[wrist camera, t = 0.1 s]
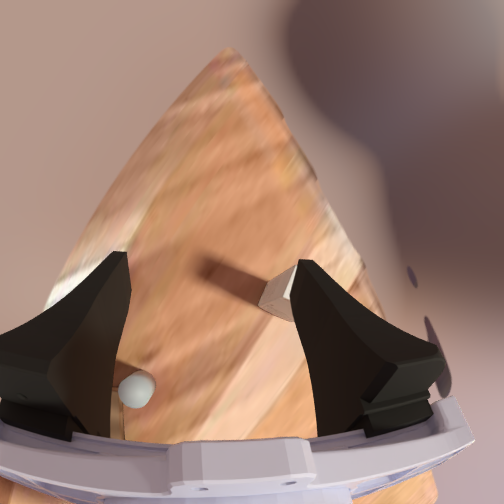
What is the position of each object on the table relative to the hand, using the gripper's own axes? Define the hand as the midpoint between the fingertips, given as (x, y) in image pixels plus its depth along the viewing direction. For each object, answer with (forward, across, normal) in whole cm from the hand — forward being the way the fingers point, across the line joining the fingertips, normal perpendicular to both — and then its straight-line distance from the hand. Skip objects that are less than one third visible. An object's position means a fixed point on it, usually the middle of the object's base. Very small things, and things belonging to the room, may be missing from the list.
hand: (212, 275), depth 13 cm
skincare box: (+23, -12, +23) cm, 34 cm away
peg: (+13, +8, +31) cm, 35 cm away
